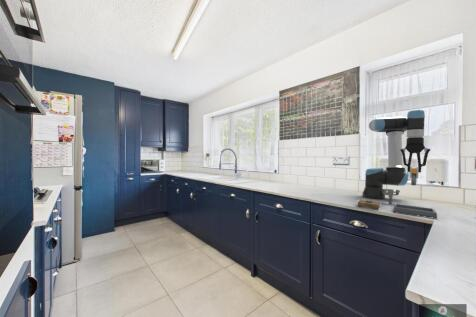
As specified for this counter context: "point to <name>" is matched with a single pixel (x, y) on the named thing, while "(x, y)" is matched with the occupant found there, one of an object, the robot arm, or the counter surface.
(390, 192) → the mechanical component
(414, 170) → the tall wooden block
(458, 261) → the counter surface
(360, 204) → the block
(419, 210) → the parts tray
